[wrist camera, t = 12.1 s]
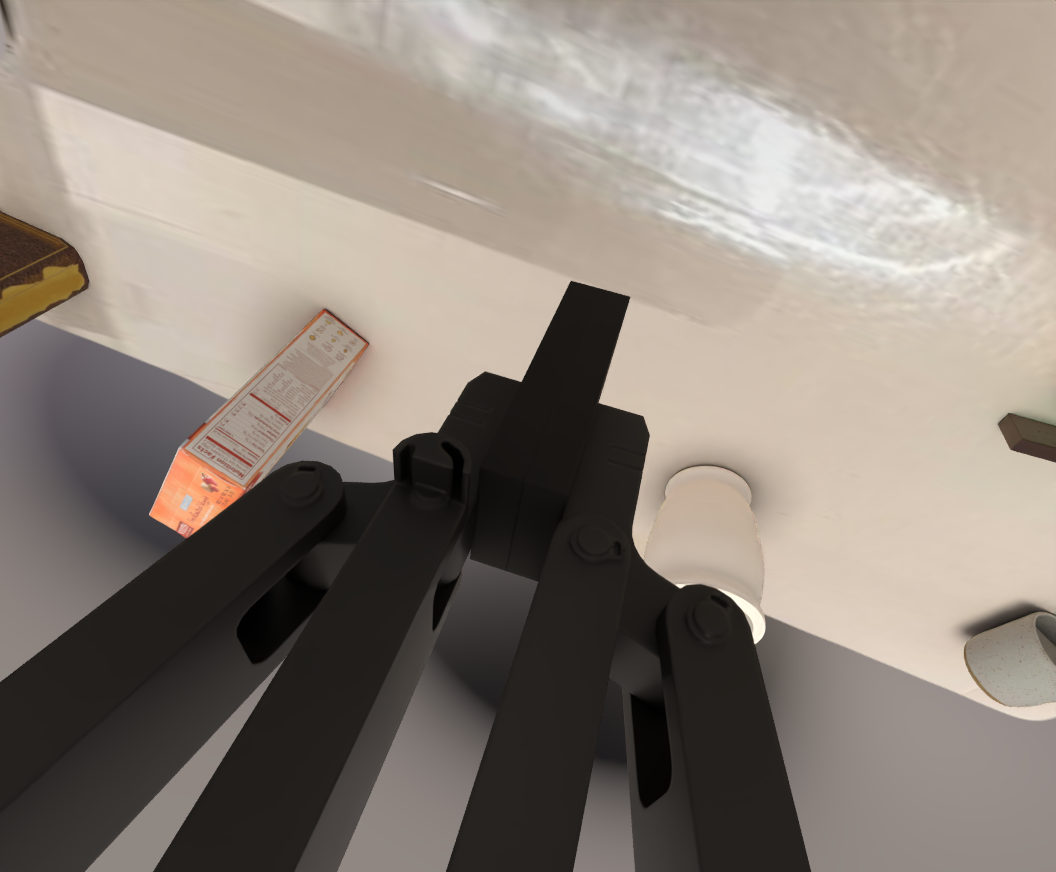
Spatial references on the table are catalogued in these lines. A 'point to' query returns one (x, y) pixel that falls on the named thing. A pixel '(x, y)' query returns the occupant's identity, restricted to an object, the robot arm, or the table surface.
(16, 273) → the book
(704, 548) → the jar
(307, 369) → the cracker box
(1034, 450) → the bay
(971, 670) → the ceramic mug
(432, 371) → the table surface
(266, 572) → the robot arm
